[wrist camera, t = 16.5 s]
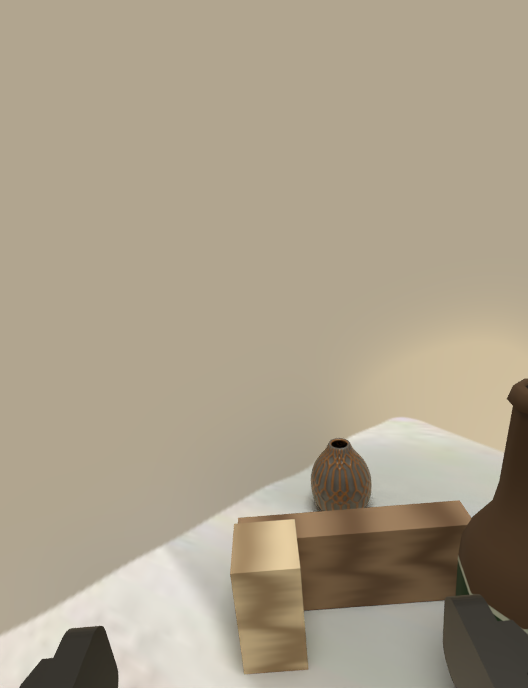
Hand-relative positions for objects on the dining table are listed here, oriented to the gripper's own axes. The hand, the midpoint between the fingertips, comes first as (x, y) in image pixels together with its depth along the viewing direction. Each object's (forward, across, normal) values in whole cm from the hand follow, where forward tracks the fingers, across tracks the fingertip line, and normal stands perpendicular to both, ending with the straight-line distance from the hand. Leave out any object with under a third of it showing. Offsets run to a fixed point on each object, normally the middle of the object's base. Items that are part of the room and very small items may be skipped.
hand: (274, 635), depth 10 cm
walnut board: (+22, -6, +25) cm, 34 cm away
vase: (+34, -7, +26) cm, 43 cm away
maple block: (+18, +2, +25) cm, 31 cm away
